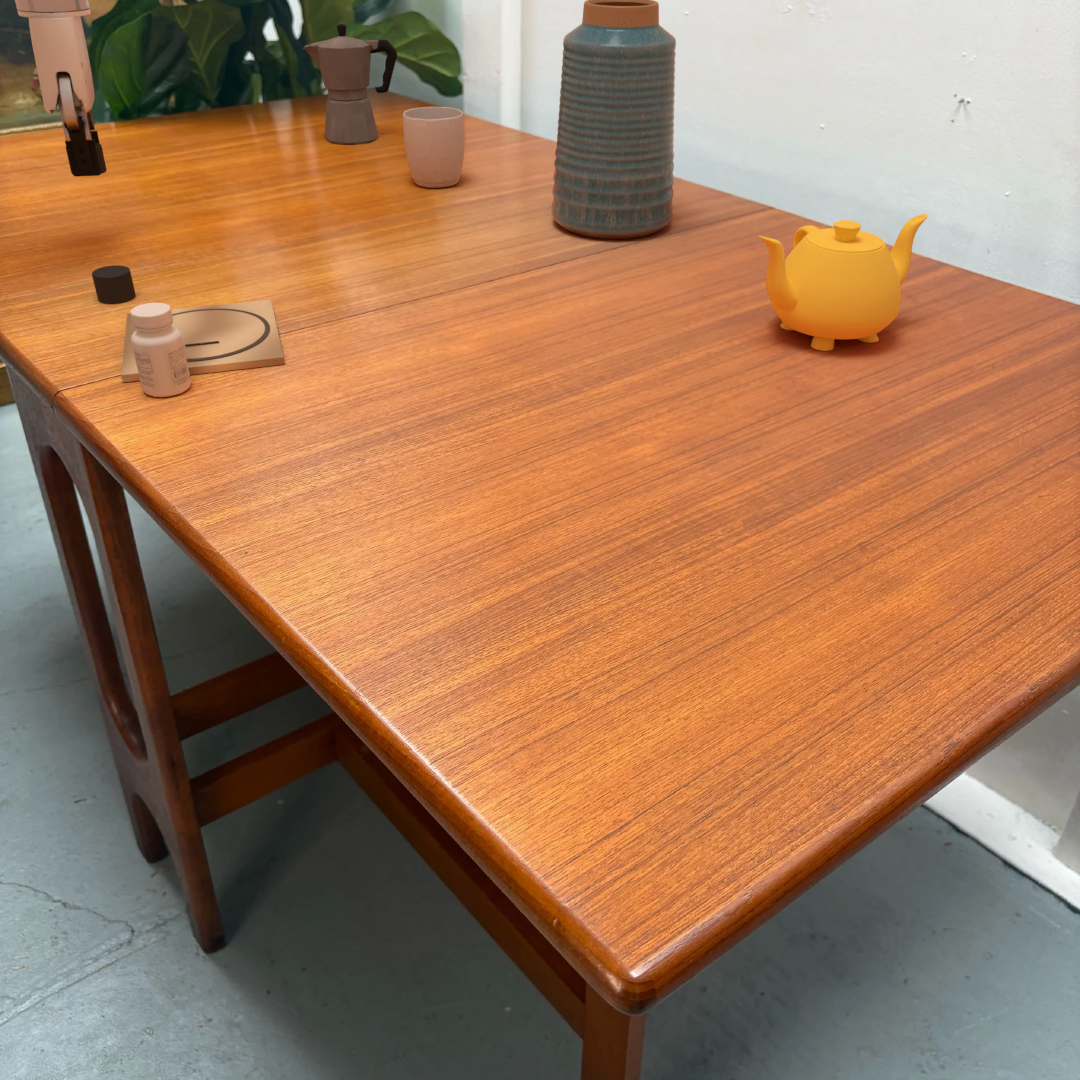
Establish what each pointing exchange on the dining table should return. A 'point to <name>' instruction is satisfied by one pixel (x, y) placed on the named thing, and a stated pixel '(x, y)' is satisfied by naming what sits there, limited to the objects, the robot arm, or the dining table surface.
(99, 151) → the dot
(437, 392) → the dining table surface
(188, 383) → the pill bottle
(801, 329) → the teapot
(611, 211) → the vase
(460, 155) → the mug
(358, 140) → the coffeepot
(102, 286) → the dot
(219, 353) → the board
